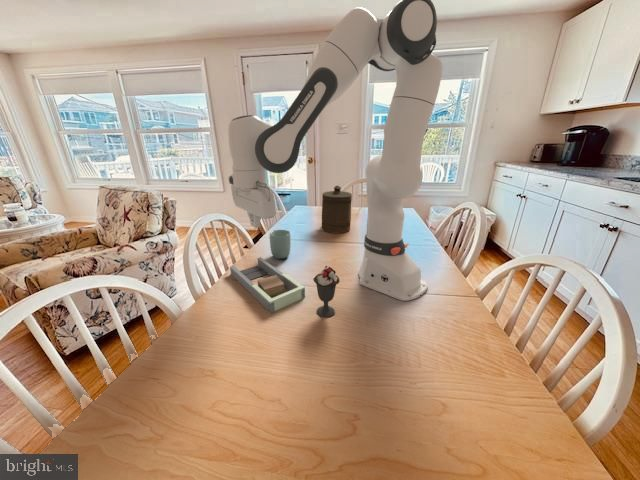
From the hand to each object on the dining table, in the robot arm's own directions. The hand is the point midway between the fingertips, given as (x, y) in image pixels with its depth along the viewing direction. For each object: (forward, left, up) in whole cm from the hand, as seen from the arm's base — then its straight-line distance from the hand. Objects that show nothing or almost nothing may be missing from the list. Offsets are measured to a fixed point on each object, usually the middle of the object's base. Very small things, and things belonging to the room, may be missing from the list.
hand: (255, 226), depth 77 cm
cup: (+11, -15, -19) cm, 27 cm away
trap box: (-3, 0, -19) cm, 19 cm away
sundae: (-26, -6, -19) cm, 33 cm away
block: (-8, +1, -19) cm, 21 cm away
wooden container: (+22, -55, -19) cm, 62 cm away
